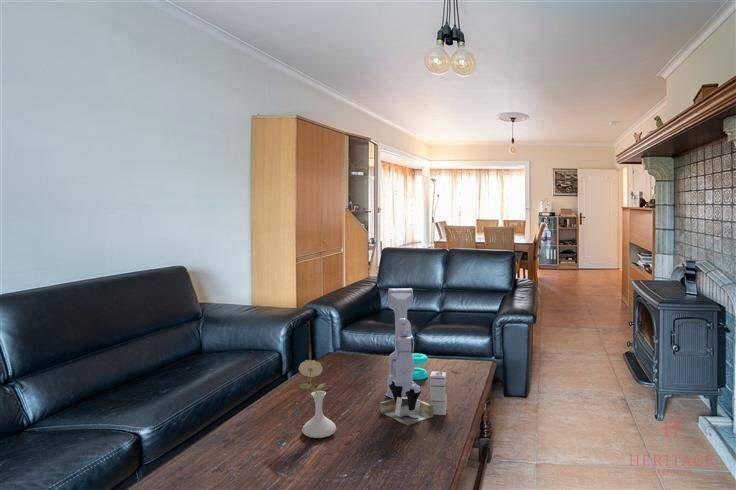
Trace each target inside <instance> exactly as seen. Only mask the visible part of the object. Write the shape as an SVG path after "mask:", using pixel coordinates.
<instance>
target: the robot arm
mask: <svg viewBox="0 0 736 490" xmlns="http://www.w3.org/2000/svg"><path fill="white" fill-rule="evenodd" d="M387 302H388V308H389V309H390V310H393V313H394V327H395V328H394V331H395V332H394V333H395V334H394V335H395V336H394V337H395V339H394V349H395V350H394V351H393V352H392V353H391V354H389V356H388V360H389V361H388V373H389V375H388V376H387V379H386V380H387V381H386V387H387V388H386V389H387V390H386V392H387V393H386V394H385V396H386V397H389V399H390V398H391V399H394V400H395V404H396V402H397V397H401V396H404V395H407V398H408V407H409V410H410V411H412V410H414V409H415V405H416V402H417V399H418V400H419V397H420V395H421V393H422V390H421V386H420V385H418V384H417V383H416V382H415V381H414V380H413V378H412V375H413V373H414V368H415V365H414V362H413V356H412V354H413V353H414V350H415V349H414V348H415V347H414V346H415V343H414V336H413V334H412V326H411V322H410V320H408V310H409V309H411V308H412V306H413V303H414V289H413V288H411V287H409V288H404V287H403V288H391V287H389V288H388V290H387Z"/></svg>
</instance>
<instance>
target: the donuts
mask: <svg viewBox="0 0 736 490" xmlns="http://www.w3.org/2000/svg"><path fill="white" fill-rule="evenodd" d="M412 356H413V362H414V366H422V365H425V364H426V363H427V362H428V361H429V358H428V356H427V354H423V353H417V352H416V353H414V352H412ZM428 376H429V373H428V370H426V369H425V368H421V367H414V373H413V375H412V378H413V381H421V380H425V379H427V378H428Z"/></svg>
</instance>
